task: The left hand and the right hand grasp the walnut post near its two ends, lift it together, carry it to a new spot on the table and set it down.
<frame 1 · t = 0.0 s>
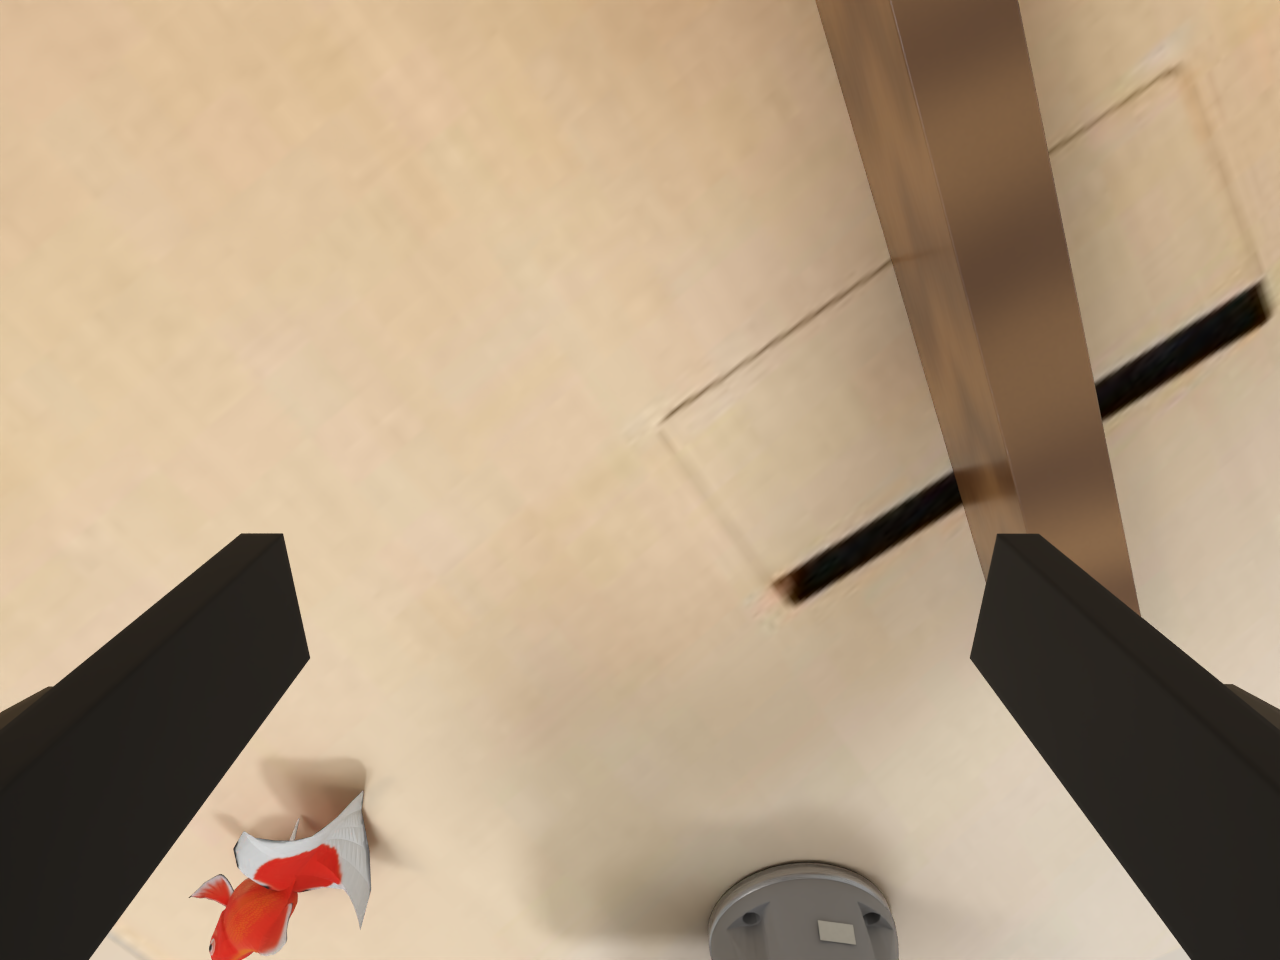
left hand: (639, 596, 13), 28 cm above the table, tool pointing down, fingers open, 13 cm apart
post: (932, 247, 37), on the table
fish: (311, 828, 53), on the table
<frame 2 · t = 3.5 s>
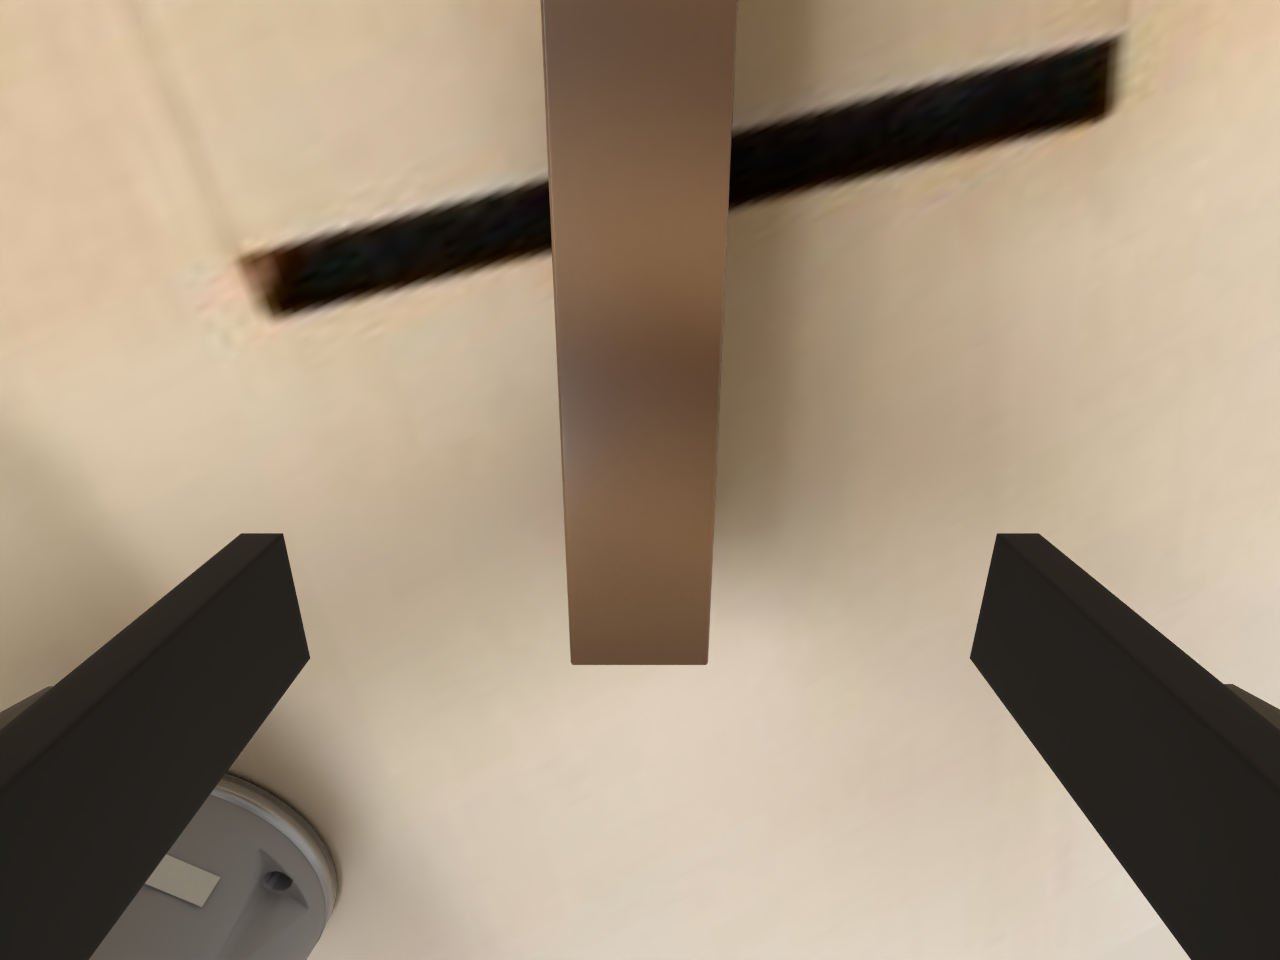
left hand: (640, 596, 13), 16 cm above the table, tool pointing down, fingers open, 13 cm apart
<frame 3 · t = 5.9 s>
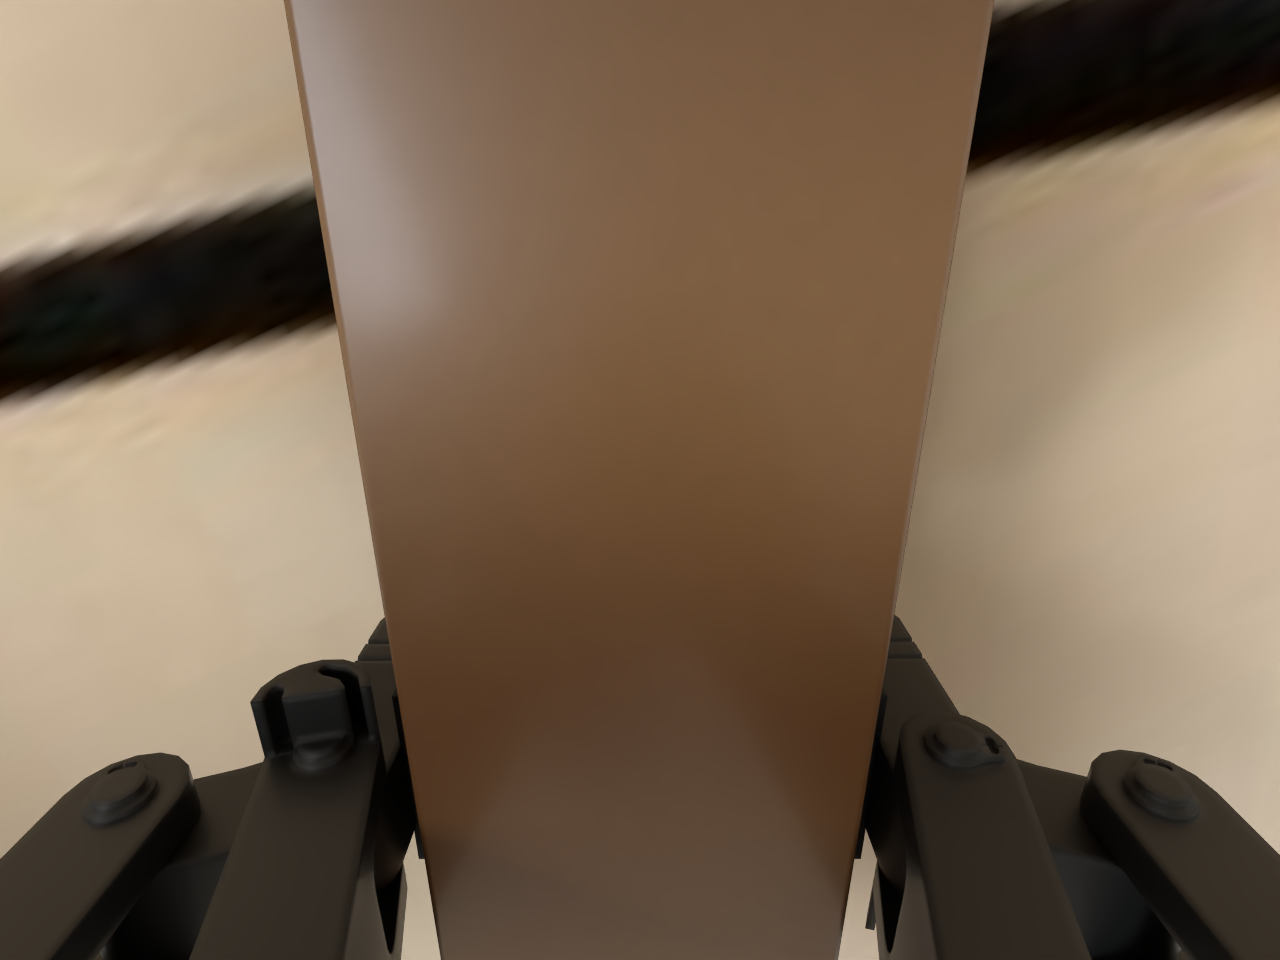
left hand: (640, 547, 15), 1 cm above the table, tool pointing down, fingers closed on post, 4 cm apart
when the left hand's fingers open (2 cm above the table, at t = 11.8 s): post stays where it is, on the table.
when the right hand's fingers open (2 cm above the table, at t = 11.8 s): post stays where it is, on the table.
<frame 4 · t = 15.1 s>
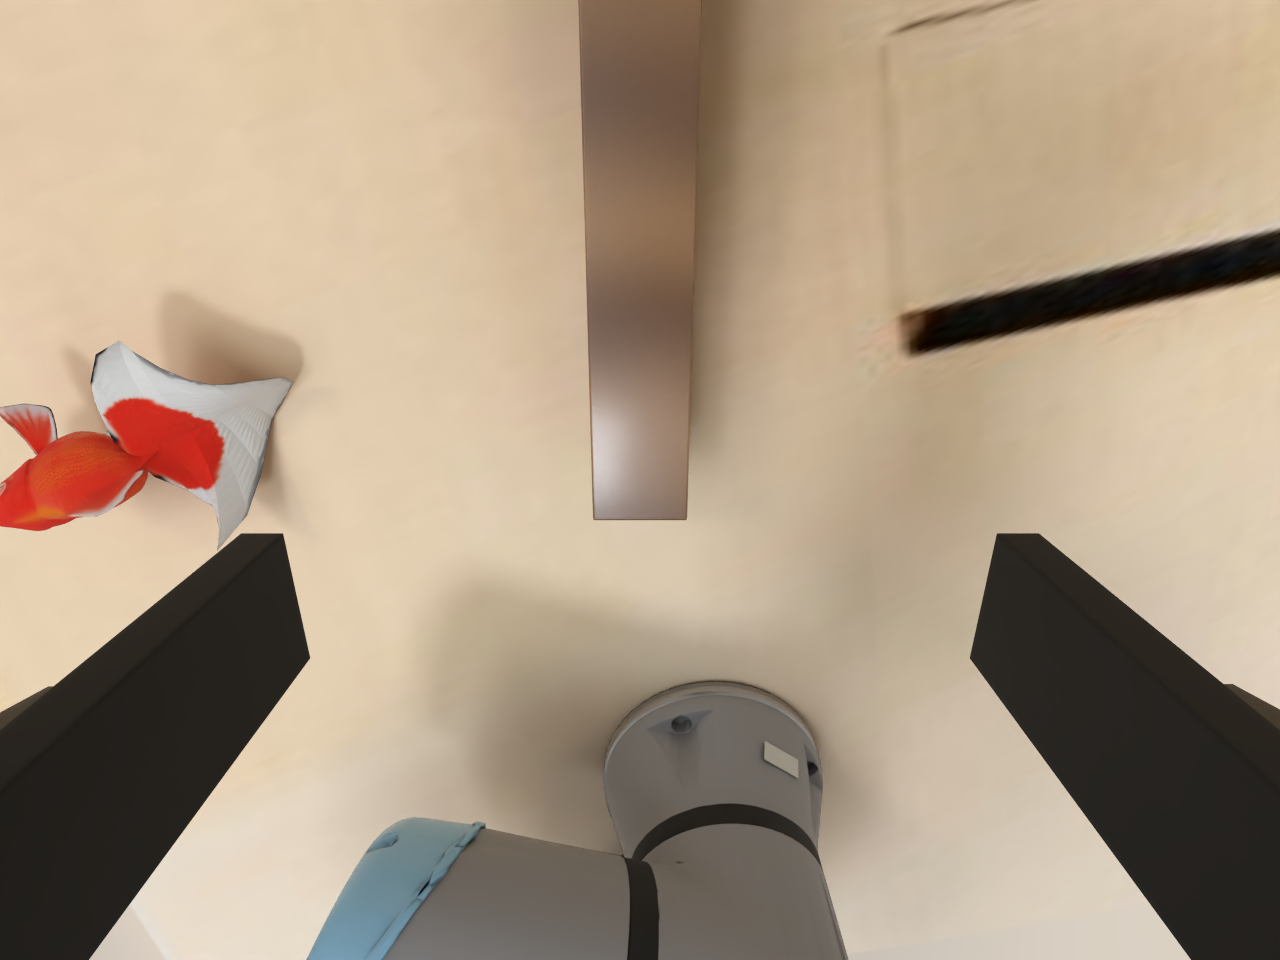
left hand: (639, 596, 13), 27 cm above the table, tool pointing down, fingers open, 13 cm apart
fish: (191, 421, 39), on the table
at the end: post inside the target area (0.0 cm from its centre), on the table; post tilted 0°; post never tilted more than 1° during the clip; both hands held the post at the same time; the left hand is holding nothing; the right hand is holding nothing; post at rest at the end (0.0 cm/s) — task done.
